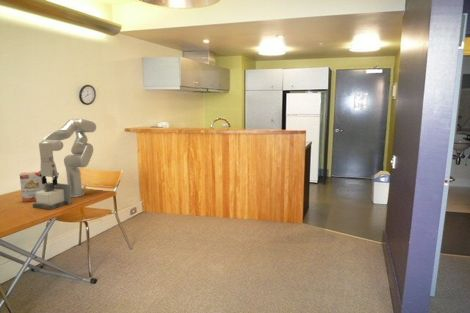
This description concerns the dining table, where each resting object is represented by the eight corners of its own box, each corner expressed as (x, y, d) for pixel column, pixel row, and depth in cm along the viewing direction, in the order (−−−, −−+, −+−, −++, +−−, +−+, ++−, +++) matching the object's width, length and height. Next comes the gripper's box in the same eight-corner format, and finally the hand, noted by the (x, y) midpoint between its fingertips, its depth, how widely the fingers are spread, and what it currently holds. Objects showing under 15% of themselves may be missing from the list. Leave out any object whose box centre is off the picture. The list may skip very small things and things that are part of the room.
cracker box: (22, 202, 231) (19, 173, 227) (24, 200, 236) (21, 172, 233) (44, 200, 235) (41, 172, 232) (46, 198, 241) (43, 170, 237)
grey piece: (50, 201, 233) (48, 182, 231) (71, 203, 226) (69, 184, 224) (30, 207, 219) (28, 187, 217) (52, 210, 212) (50, 189, 210)
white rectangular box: (50, 199, 230) (49, 181, 228) (64, 200, 225) (63, 182, 223) (35, 203, 219) (33, 185, 217) (50, 205, 214) (48, 186, 212)
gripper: (61, 159, 219) (64, 184, 221) (42, 158, 224) (45, 182, 227) (51, 161, 212) (54, 186, 215) (32, 160, 217) (35, 184, 220)
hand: (49, 184), depth 221 cm, fingers open, 9 cm apart
